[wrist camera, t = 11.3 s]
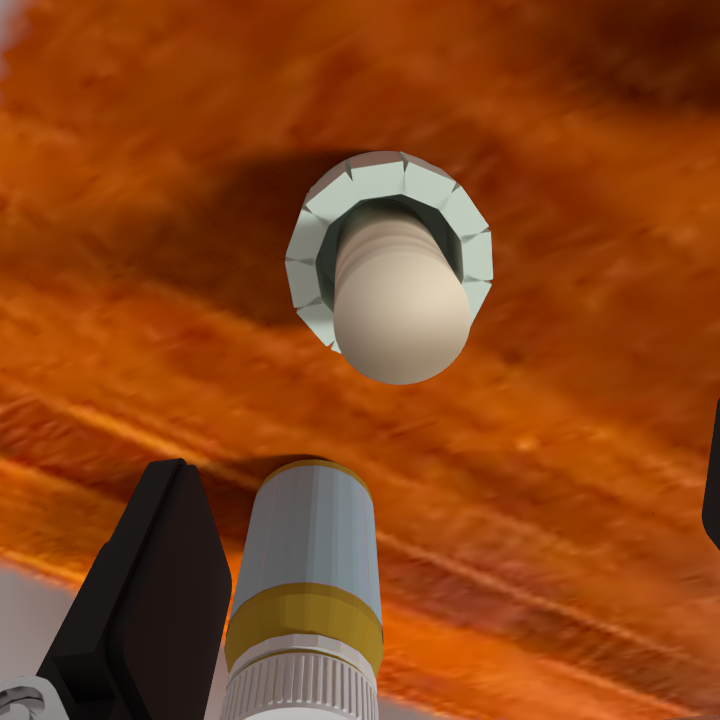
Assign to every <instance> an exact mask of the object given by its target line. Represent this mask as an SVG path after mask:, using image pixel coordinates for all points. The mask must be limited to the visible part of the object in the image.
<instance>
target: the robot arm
mask: <svg viewBox="0 0 720 720" xmlns="http://www.w3.org/2000/svg"><path fill="white" fill-rule="evenodd" d="M702 522H703V526H704V529H705V531H706V533H707V534H708V536H709V537H710V539H711V540H712V541H713V542H714V544H715V545H716V546H717V548H718V549H719V550H720V398H719V400H718V403H717V410H716V417H715V424H714V431H713V438H712V445H711V452H710V459H709V467H708V474H707V481H706V488H705V495H704V502H703V509H702ZM231 592H232V579H231V573H230V569H229V566H228V563H227V560H226V557H225V554H224V551H223V548H222V544H221V541H220V538H219V535H218V532H217V529H216V526H215V522H214V519H213V516H212V513H211V510H210V507H209V504H208V501H207V497H206V494H205V491H204V488H203V485H202V482H201V479H200V476H199V472H198V470H197V468H196V466H195V465H187V463H186V462H185V460H184V459H182V458H178V459H170V460H163V461H155V462H151V463H149V464H148V466H147V468H146V469H145V471H144V473H143V475H142V477H141V479H140V481H139V483H138V485H137V487H136V489H135V491H134V493H133V495H132V497H131V499H130V501H129V503H128V505H127V507H126V509H125V511H124V513H123V515H122V517H121V519H120V521H119V523H118V525H117V527H116V529H115V531H114V533H113V535H112V537H111V539H110V541H109V542H107V543H105V544H104V546H103V547H102V548H101V550H100V551H99V553H98V555H97V557H96V559H95V561H94V563H93V565H92V567H91V569H90V571H89V573H88V575H87V577H86V579H85V581H84V583H83V584H82V586H81V588H80V590H79V592H78V594H77V596H76V598H75V600H74V602H73V604H72V606H71V608H70V610H69V612H68V614H67V616H66V618H65V620H64V621H63V623H62V625H61V627H60V629H59V631H58V633H57V635H56V637H55V639H54V641H53V643H52V645H51V647H50V649H49V650H48V652H47V654H46V656H45V658H44V660H43V662H42V664H41V666H40V668H39V670H38V672H37V674H36V676H21V677H18V678H15V679H11V680H8V681H5V682H2V683H0V720H204V715H205V711H206V706H207V701H208V697H209V692H210V688H211V684H212V679H213V674H214V670H215V665H216V660H217V656H218V652H219V647H220V643H221V638H222V634H223V629H224V624H225V620H226V615H227V611H228V606H229V602H230V597H231ZM666 720H720V714H714V715H705V716H695V717H685V718H676V719H666Z"/></svg>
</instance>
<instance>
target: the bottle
mask: <svg viewBox="0 0 720 720" xmlns="http://www.w3.org/2000/svg"><path fill="white" fill-rule="evenodd" d="M224 652H225V657H226V662H227V667H228V672H229V676H228V680H227V686H226V694H225V696H224V700H223V705H222V710H221V715H220V720H379V718H378V704H377V699H376V696H377V689H376V677H377V674H378V671H379V668H380V665H381V662H382V659H383V631H382V618H381V604H380V591H379V577H378V564H377V550H376V537H375V523H374V510H373V503H372V497H371V494H370V492H369V490H368V488H367V486H366V484H365V483H364V481H363V480H362V479H361V478H359V477H358V476H357V475H356V474H355V473H354V472H353V471H351V470H350V469H348V468H346V467H344V466H342V465H340V464H337V463H334V462H330V461H324V460H317V459H313V460H300V461H295V462H293V463H290V464H287V465H284V466H282V467H280V468H278V469H277V470H275V471H274V472H273V473H271V474H270V475H269V476H268V477H267V478H266V479H265V480H264V481H263V483H262V484H261V486H260V487H259V489H258V491H257V494H256V498H255V501H254V505H253V510H252V515H251V519H250V524H249V529H248V534H247V538H246V543H245V548H244V553H243V558H242V562H241V567H240V572H239V577H238V581H237V586H236V591H235V596H234V600H233V605H232V610H231V615H230V619H229V624H228V629H227V634H226V642H225V647H224Z"/></svg>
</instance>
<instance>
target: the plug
mask: <svg viewBox="0 0 720 720" xmlns="http://www.w3.org/2000/svg"><path fill="white" fill-rule="evenodd" d="M470 324H471V312H470V305H469V301H468V298H467V295H466V293H465V291H464V289H463V287H462V286H461V284H460V282H459V281H458V279H457V277H456V275H455V274H454V272H453V270H452V269H451V267H450V265H449V264H448V262H447V260H446V259H445V257H444V255H443V254H442V252H441V250H440V249H439V247H438V245H437V243H436V242H435V240H434V238H433V237H432V235H431V233H430V232H429V230H428V228H427V227H426V225H425V223H424V222H423V220H422V218H421V217H420V216H419V215H418V213H417V212H416V211H415V210H413V209H412V208H411V207H409V206H408V205H406V204H404V203H402V202H400V201H397V200H392V199H375V200H371V201H368V202H365V203H363V204H361V205H359V206H358V207H356V208H355V209H354V210H352V211H351V212H350V213H349V214H348V216H347V217H346V218H345V219H344V221H343V223H342V224H341V227H340V229H339V232H338V235H337V241H336V267H335V294H334V321H333V326H334V334H335V338H336V342H337V344H338V347H339V349H340V351H341V353H342V354H343V356H344V357H345V359H346V360H347V361H348V363H349V364H350V365H351V366H352V367H353V368H355V369H356V370H357V371H359V372H360V373H361V374H363V375H365V376H366V377H368V378H371V379H373V380H375V381H379V382H382V383H387V384H398V385H402V384H412V383H417V382H420V381H423V380H426V379H429V378H431V377H433V376H435V375H437V374H438V373H440V372H441V371H443V370H444V369H445V368H447V367H448V366H449V365H450V364H451V363H452V362H453V361H454V360H455V359H456V357H457V356H458V355H459V354H460V352H461V350H462V349H463V347H464V345H465V342H466V340H467V338H468V334H469V331H470Z"/></svg>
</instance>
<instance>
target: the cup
mask: <svg viewBox="0 0 720 720" xmlns="http://www.w3.org/2000/svg"><path fill="white" fill-rule="evenodd" d="M375 199H392V200H397V201H400V202H402V203H404V204H406V205H408V206H409V207H411V208H412V209H413V210H415V211H416V212H417V213H418V215H419V216H420V217H421V218H422V220H423V222H424V223H425V225H426V227H427V228H428V230H429V232H430V233H431V235H432V237H433V238H434V240H435V242H436V243H437V245H438V247H439V249H440V250H441V252H442V254H443V255H444V257H445V259H446V260H447V262H448V264H449V265H450V267H451V269H452V270H453V272H454V274H455V275H456V277H457V279H458V281H459V282H460V284H461V286H462V287H463V289H464V291H465V293H466V295H467V298H468V301H469V305H470V312H471V324H472V322H473V320H474V318H475V316H476V315H477V313H478V311H479V309H480V307H481V305H482V303H483V301H484V299H485V297H486V295H487V293H488V291H489V289H490V287H491V285H492V284H491V283H490V282H489V280H491V279H493V269H492V248H491V232H490V231H489V230H488V229H487V227H488V224H487V223H486V221H485V220H484V218H483V217H482V216H481V214H480V213H479V211H478V210H477V208H476V207H475V205H474V204H473V202H472V201H471V200H470V198H469V197H468V195H467V194H466V192H465V191H464V189H463V188H462V187H461V185H459V184H458V183H457V182H456V181H455V180H454V179H452V178H451V177H450V176H449V175H448V174H447V173H445V172H444V171H443V170H442V169H440V168H438V167H436V166H433V165H431V164H429V163H428V162H426V161H424V160H422V159H420V158H418V157H415V156H412V155H409V154H406V153H403V152H401V151H400V152H396V151H373V152H367V153H363V154H359V155H356V156H353V157H350V158H348V159H346V160H344V161H342V162H341V163H339V164H337V165H336V166H334V167H333V168H332V169H330V170H329V171H328V172H326V173H325V174H324V175H323V176H322V177H321V178H320V179H319V180H318V182H317V183H316V184H315V185H314V186H312V187H311V188H310V191H309V193H307V195H306V198H305V200H304V203H303V206H302V209H301V211H300V214H299V217H298V220H297V223H296V226H295V228H294V231H293V234H292V237H291V240H290V243H289V246H288V249H287V252H286V255H285V256H286V260H285V266H286V271H287V275H288V280H289V285H290V290H291V295H292V300H293V305H294V308H296V307H298V308H297V314H298V315H299V316H300V317H301V318H302V320H303V321H304V322H305V323H306V324H307V325H308V326H309V327H310V329H311V330H312V331H313V332H314V333H315V334H316V335H317V336H318V338H319V339H320V340H321V341H322V342H323V343H324V344H325V345H326V347H327V346H328V345H329V344H331V350H334V351H336V352H339V353H341V351H340V349H339V347H338V344H337V342H336V338H335V334H334V326H333V321H334V294H335V267H336V241H337V235H338V232H339V229H340V227H341V224H342V223H343V221H344V219H345V218H346V217H347V216H348V214H349V213H350V212H351V211H352V210H354V209H355V208H356V207H358V206H359V205H361V204H363V203H365V202H368V201H371V200H375ZM471 324H470V326H471Z"/></svg>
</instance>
